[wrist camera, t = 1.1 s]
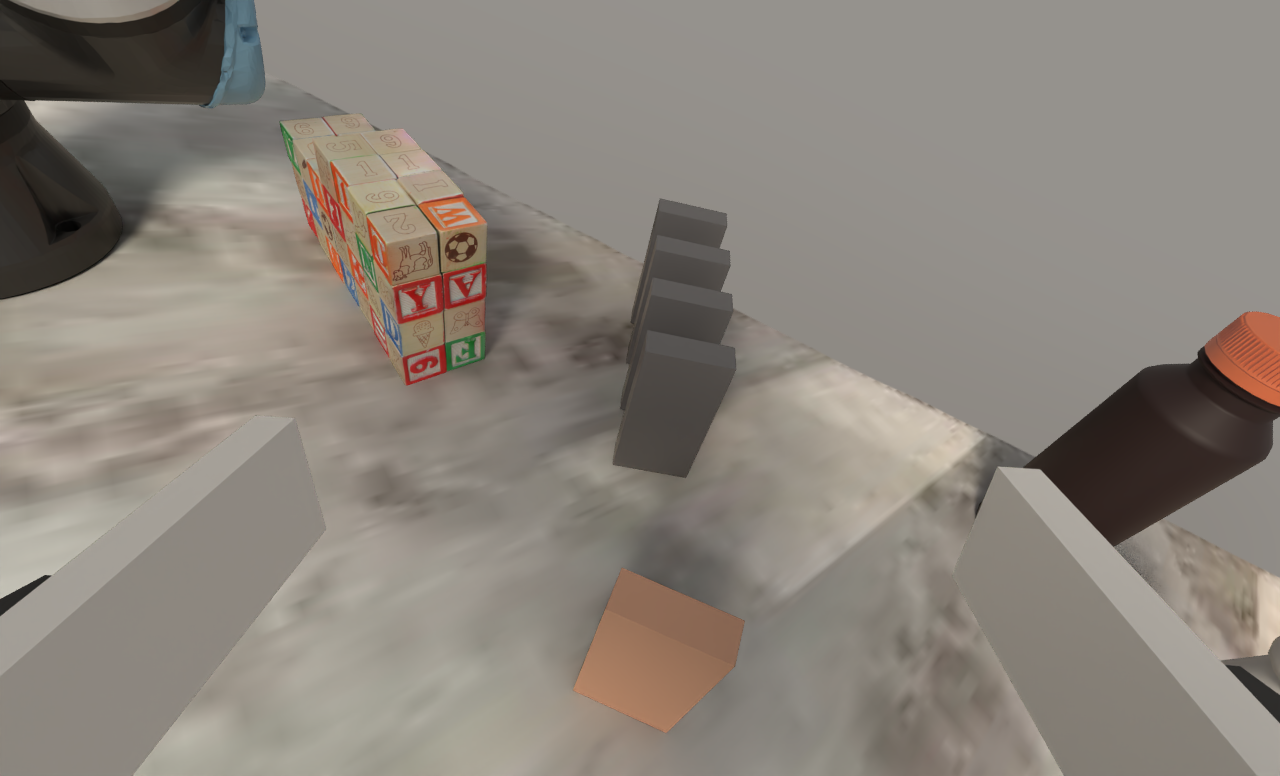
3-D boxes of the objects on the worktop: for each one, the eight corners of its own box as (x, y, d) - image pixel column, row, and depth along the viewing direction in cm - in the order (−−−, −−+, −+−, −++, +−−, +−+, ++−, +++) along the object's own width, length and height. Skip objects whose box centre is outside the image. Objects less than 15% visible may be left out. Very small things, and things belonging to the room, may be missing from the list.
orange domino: (666, 732, 29) (734, 666, 21) (572, 690, 29) (605, 608, 21) (676, 696, 30) (744, 620, 22) (586, 656, 31) (621, 567, 23)
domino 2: (688, 375, 47) (730, 265, 39) (626, 363, 46) (655, 249, 38) (688, 360, 48) (729, 250, 40) (628, 348, 47) (657, 234, 39)
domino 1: (688, 334, 50) (727, 226, 42) (630, 322, 50) (658, 210, 42) (689, 321, 51) (726, 213, 43) (632, 309, 51) (659, 198, 43)
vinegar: (1030, 597, 39) (1355, 412, 24) (955, 515, 42) (1199, 310, 28) (1082, 561, 42) (1398, 377, 27) (1008, 486, 45) (1253, 289, 31)
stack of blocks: (305, 225, 50) (266, 76, 41) (378, 212, 53) (357, 72, 44) (406, 388, 40) (384, 240, 31) (488, 360, 44) (488, 219, 35)
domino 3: (687, 421, 43) (732, 312, 35) (620, 409, 43) (650, 294, 35) (687, 404, 44) (731, 294, 37) (622, 391, 44) (652, 277, 36)
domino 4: (685, 477, 40) (736, 369, 32) (612, 464, 39) (645, 351, 31) (686, 456, 41) (734, 347, 33) (615, 443, 41) (647, 330, 33)
